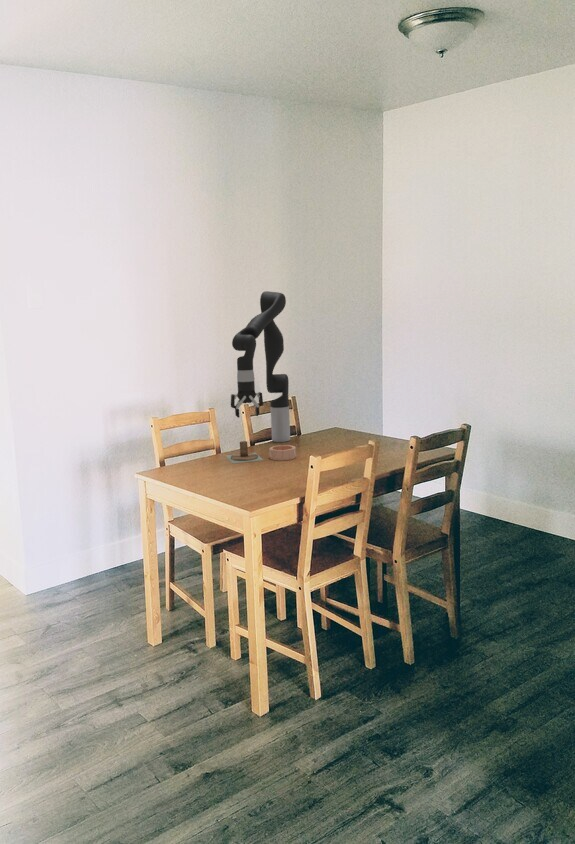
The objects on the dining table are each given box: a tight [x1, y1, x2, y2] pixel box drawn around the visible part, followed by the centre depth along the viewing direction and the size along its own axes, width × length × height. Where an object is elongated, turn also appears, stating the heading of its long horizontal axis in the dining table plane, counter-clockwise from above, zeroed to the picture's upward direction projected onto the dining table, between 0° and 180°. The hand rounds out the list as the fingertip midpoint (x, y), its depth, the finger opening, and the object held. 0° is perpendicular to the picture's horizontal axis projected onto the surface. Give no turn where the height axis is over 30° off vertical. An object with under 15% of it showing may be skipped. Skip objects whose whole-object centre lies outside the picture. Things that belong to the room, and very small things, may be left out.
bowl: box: [268, 444, 297, 462], centre depth 316 cm, size 11×11×5 cm
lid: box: [231, 440, 259, 461], centre depth 318 cm, size 12×12×7 cm
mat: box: [225, 452, 264, 464], centre depth 319 cm, size 16×14×1 cm
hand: (247, 416), depth 317 cm, fingers open, 8 cm apart
